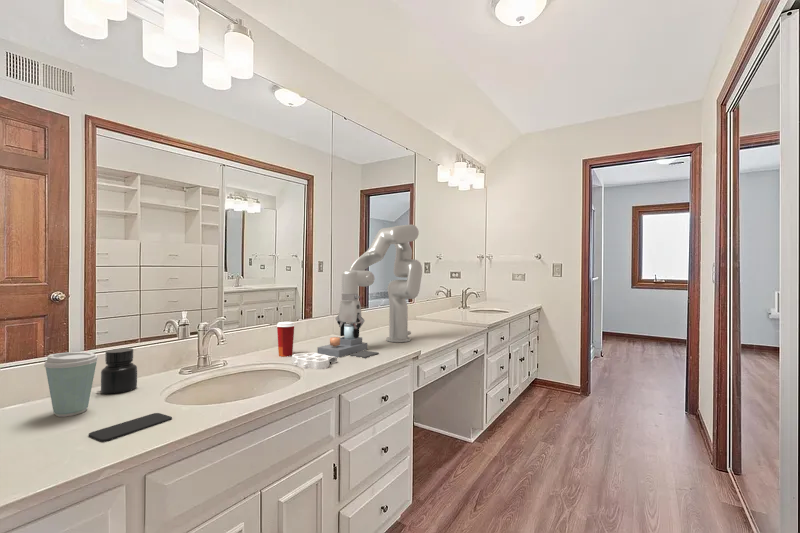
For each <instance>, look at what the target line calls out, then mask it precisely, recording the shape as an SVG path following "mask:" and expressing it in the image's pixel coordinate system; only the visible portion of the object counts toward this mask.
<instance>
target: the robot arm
mask: <svg viewBox="0 0 800 533" xmlns="http://www.w3.org/2000/svg"><path fill="white" fill-rule="evenodd" d="M419 234H420V233H419V229H418V227H417V226H416V225H415V224H404V225H403V224H401V225H395V226H391V227H382V228H381V229H379V230H378V231H377V233H376V235H375V237H374V238H373V240H372V242H371V243H370V244H369V245H370V246H369V247H368V249H367V250H366V251H365V252H363V253H362V254H361V255H360V256H359V257H358V258H356V260H355V261H354V262H353V263H352V264H351V267H350V268H349V270H343V271H342V273H341V300H340V303H339V309H338V310H339V311H338V315H337V316H336V317H335V320H336V323H337V325H338V327H339V328H340V331H339V332H340V333H339V335H340V336H339V337H344V324H345V323H353V325H354V327H355V329H354V338H356V337H360V329H361V327H362V326H363V324H364V323H365V321H366V320H365V318H363V317H362V306H361V302H360V300H359V299H360V295H359V287H370V286H371V285H373V284H374V282H375V279H376V278H375V275H374V273H373V272H372V271H369V270H367V269H368V268H369V267H370V266H372V265H374V264H376V263H378V262H380V261H382V260H383V259H384V257H385V256H386V253H387V252H388V250H389V248H390V246H391V245H394V247H395V256H394V257H395V258H394V264H393V275H394V276H395V277H398V278H403V279H394V280H391V281H390V282H389V283H388V284H387V285H388V286H387V296H388V302H389V303H388V304H389V306H388V308H389V309H388V310H389V311H388V312H389V314H388V315H389V321H388V322H389V325H388V326H389V328H388V330H389V331H388V332H389V336H388V337H386V341H387V342H388V343H389V342H390V343H407V342H410V341H411V337H408V336H409V335H412V332H411V330H409V331H408V329H409V328H408V327H409V326H408V325H409V324H408V322H409V321H408V313H409V310H408V309H409V308H408V307H409V306H408V303H407V302H408V301H406V300H410V299H411V300H413V299H415V298H417V297H418V295H419V294H420V290H421V282H422V276H423V265H422V262H420V261H419V260H418V259H414V258H413V257H412V256H413V250H412V247H411V245H410V243H411V242H414V241H416V240H417V239H418V237H419ZM412 258H413V259H412ZM405 278H406V279H405Z"/></svg>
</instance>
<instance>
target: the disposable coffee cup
mask: <svg viewBox="0 0 800 533" xmlns="http://www.w3.org/2000/svg"><path fill="white" fill-rule="evenodd" d="M98 361H99V358H98V355H97V354H96V353H94V352H90V351H89V352H87V351H86V352H84V351H82V352H81V351H77V352H76V351H73V352H71V351H70V352H69V351H68V352H59V353H58V352H57V353H51V354H49V355H47V359H46V360H45V362H44V365H43V367H44V368H45V372H46V379H47V383H48V389H49V395H50V400H51V405H52V411H53V414H54V416H56V417H58V418H59V417H63V418H65V417H70V416H71V417H72V416H75V415H80V414H82V413H84V412H86V411H87V408H88V407H89V402H90V398H91V393H92V388H93V383H94V378H95V372H96V368H97V362H98Z"/></svg>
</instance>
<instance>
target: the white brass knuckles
mask: <svg viewBox="0 0 800 533" xmlns="http://www.w3.org/2000/svg"><path fill="white" fill-rule="evenodd" d="M330 362H332V363H331V364H336V363H337V362H338V357H335V356H328V355H325V354H318V352H307V353H294V354H292V356H291V364H294V365H295V366H297V367H302V368H304V369H316V370H324V368H325V369H328V368H329V366H330V365H331V364H330Z"/></svg>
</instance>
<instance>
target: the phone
mask: <svg viewBox="0 0 800 533" xmlns="http://www.w3.org/2000/svg"><path fill="white" fill-rule="evenodd" d="M172 420H173V417H172V416H170V415H166V414H164V413H160V412H154V413H150V414H147V415H143V416H140V417H137V418H134V419H130V420H127V421H123V422H120V423H117V424H114V425H110V426H108V427H104V428H101V429H98V430H94V431H91V432H89V433H88V438H90V439H92V440H96V441H97V442H100V443H107V442H111V441H113V440H116V439H119V438H122V437H125V436H128V435H131V434H134V433H137V432H140V431H143V430H146V429H149V428H151V427H155V426H158V425H161V424H163V423H166V422H169V421H172Z"/></svg>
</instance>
